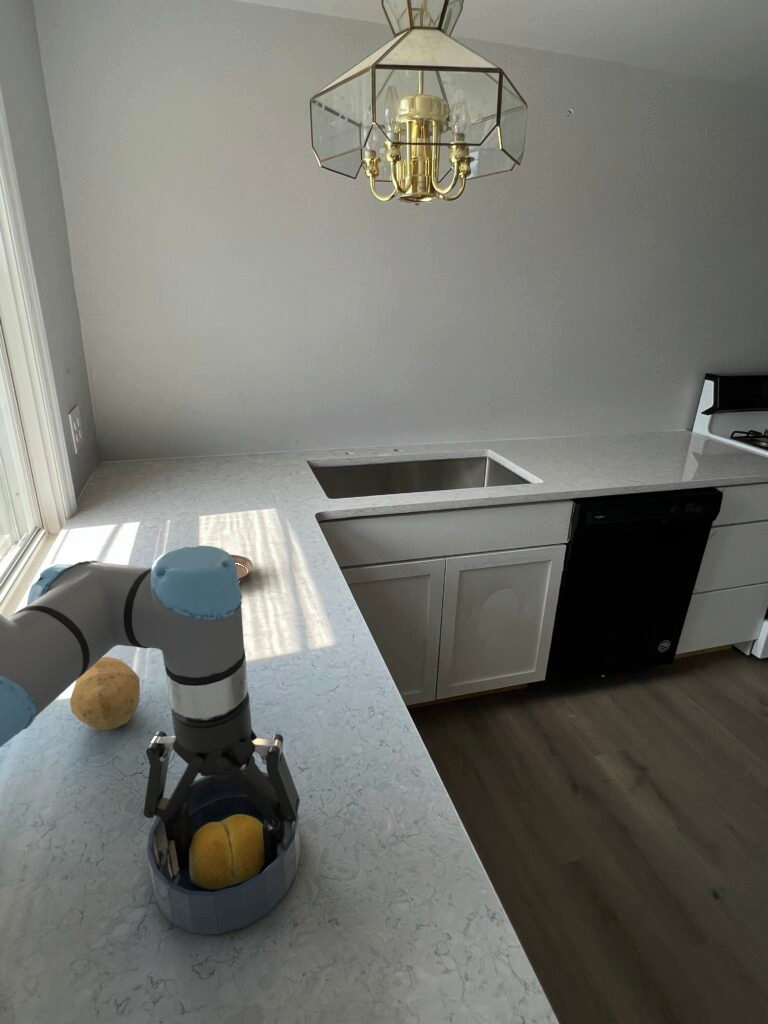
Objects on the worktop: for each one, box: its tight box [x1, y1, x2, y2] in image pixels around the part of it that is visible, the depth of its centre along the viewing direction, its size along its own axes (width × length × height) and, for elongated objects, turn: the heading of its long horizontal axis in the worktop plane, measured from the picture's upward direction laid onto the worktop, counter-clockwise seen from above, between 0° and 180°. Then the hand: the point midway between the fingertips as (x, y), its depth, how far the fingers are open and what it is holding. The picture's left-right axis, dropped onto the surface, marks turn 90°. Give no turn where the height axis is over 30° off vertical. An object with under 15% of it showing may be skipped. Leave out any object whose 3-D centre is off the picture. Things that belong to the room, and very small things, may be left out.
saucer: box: [230, 554, 254, 584], centre depth 129 cm, size 15×15×3 cm
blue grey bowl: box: [146, 770, 301, 935], centre depth 63 cm, size 16×16×6 cm
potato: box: [69, 656, 141, 732], centre depth 84 cm, size 10×14×8 cm
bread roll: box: [189, 814, 265, 891], centre depth 63 cm, size 8×9×4 cm
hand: (228, 858), depth 64 cm, fingers closed on bread roll, 9 cm apart
